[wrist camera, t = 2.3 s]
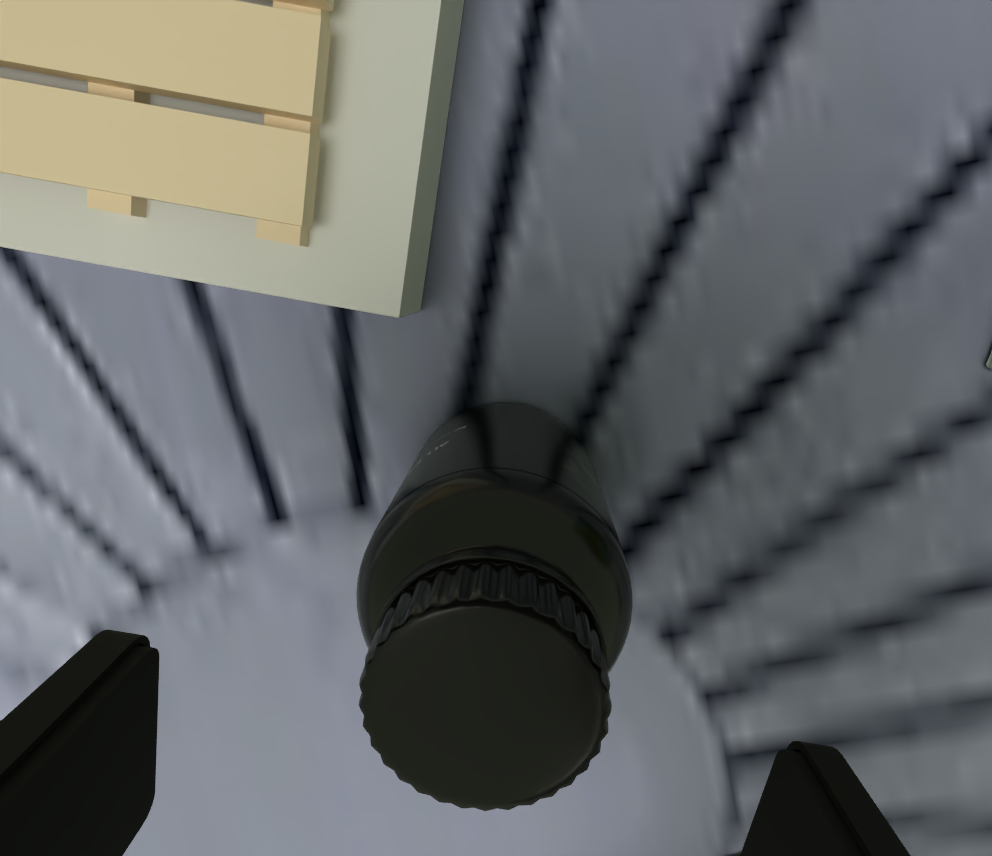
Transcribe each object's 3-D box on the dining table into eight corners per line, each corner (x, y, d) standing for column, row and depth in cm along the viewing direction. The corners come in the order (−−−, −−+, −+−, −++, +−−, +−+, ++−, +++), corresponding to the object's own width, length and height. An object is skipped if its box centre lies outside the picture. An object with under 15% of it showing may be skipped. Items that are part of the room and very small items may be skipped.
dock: (487, -163, 18) (474, -348, 13) (420, 311, 21) (388, 321, 16) (-48, -262, 18) (-288, -491, 13) (-32, 230, 21) (-215, 213, 16)
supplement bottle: (413, 395, 22) (297, 523, 11) (601, 404, 22) (695, 544, 10) (411, 568, 24) (309, 844, 12) (586, 577, 24) (653, 868, 12)
